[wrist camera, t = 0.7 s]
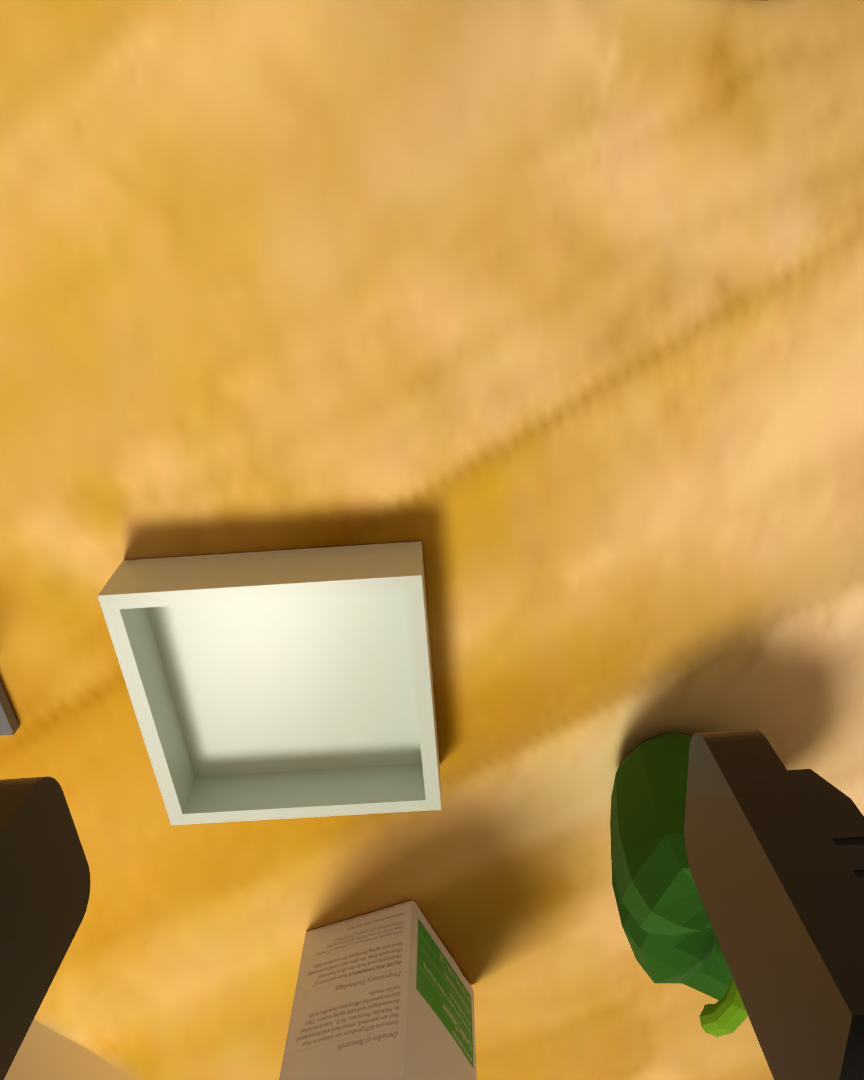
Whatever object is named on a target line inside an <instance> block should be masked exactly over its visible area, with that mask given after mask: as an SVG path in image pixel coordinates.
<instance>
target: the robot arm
mask: <svg viewBox="0 0 864 1080" xmlns="http://www.w3.org/2000/svg"><path fill="white" fill-rule="evenodd" d="M760 1H767V0H760ZM684 834H685V846H686V852H687V858H688V863H689V867H690V871H691V874H692V877H693V880H694V883H695V885H696V888H697V890H698V893H699V895H700V898H701V900H702V903H703V905H704V908H705V910H706V913H707V915H708V917H709V920H710V922H711V925H712V927H713V930H714V932H715V935H716V937H717V940H718V942H719V945H720V947H721V950H722V952H723V954H724V957H725V959H726V962H727V964H728V967H729V969H730V972H731V974H732V977H733V979H734V982H735V984H736V987H737V989H738V992H739V994H740V996H741V999H742V1001H743V1004H744V1006H745V1009H746V1011H747V1014H748V1016H749V1019H750V1021H751V1024H752V1026H753V1029H754V1031H755V1033H756V1036H757V1038H758V1041H759V1043H760V1046H761V1048H762V1051H763V1053H764V1056H765V1058H766V1061H767V1063H768V1066H769V1068H770V1070H771V1073H772V1075H773V1078H774V1080H864V816H863V815H862V814H861V812H860V811H859V809H858V808H857V807H856V805H855V804H854V803H853V801H852V800H851V799H850V798H849V797H848V796H846V795H845V794H844V793H842V792H841V791H839V790H838V789H837V788H835V787H834V786H833V785H831V784H830V783H829V782H827V781H826V780H825V779H823V778H822V777H820V776H819V775H818V774H816V773H815V772H814V771H812V770H811V769H802V770H788V771H787V769H786V768H785V766H784V765H783V763H782V762H781V760H780V759H779V757H778V756H777V754H776V753H775V751H774V750H773V748H772V747H771V745H770V744H769V742H768V741H767V739H766V738H765V736H764V735H763V734H762V733H761V732H760V731H759V730H757V729H746V730H732V731H717V732H703V733H695V734H694V735H693V736H692V738H691V742H690V748H689V763H688V779H687V794H686V809H685V825H684ZM89 893H90V872H89V866H88V863H87V860H86V857H85V854H84V851H83V848H82V845H81V842H80V840H79V837H78V834H77V831H76V828H75V825H74V822H73V819H72V817H71V814H70V811H69V808H68V805H67V802H66V799H65V796H64V794H63V791H62V788H61V786H60V785H59V783H58V782H57V781H56V780H55V779H54V778H52V777H35V778H21V779H7V780H0V1080H4V1078H5V1076H6V1074H7V1072H8V1070H9V1067H10V1066H11V1064H12V1061H13V1059H14V1058H15V1056H16V1054H17V1052H18V1049H19V1047H20V1045H21V1043H22V1041H23V1039H24V1037H25V1035H26V1033H27V1031H28V1029H29V1027H30V1025H31V1023H32V1021H33V1019H34V1017H35V1015H36V1013H37V1011H38V1009H39V1007H40V1005H41V1003H42V1001H43V999H44V997H45V995H46V993H47V991H48V989H49V987H50V985H51V983H52V981H53V979H54V977H55V974H56V972H57V970H58V968H59V966H60V964H61V962H62V960H63V958H64V956H65V954H66V952H67V950H68V948H69V946H70V944H71V942H72V940H73V938H74V936H75V934H76V932H77V930H78V928H79V926H80V924H81V922H82V919H83V917H84V915H85V912H86V908H87V904H88V900H89Z"/></svg>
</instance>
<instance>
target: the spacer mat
mask: <svg viewBox="0 0 864 1080" xmlns="http://www.w3.org/2000/svg"><path fill="white" fill-rule="evenodd" d="M18 728H19V724H18V722H17V719H16V717H15V714H14V712H13V710H12V707H11V705H10V702H9V700H8V698H7V695H6V693H5V690H4V688H3V686H2V683H1V681H0V735H14V734H15V732H16V731H17V729H18Z"/></svg>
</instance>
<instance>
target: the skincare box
mask: <svg viewBox="0 0 864 1080" xmlns="http://www.w3.org/2000/svg"><path fill="white" fill-rule="evenodd" d="M279 1080H477V1079H476V1053H475V1024H474V993H473V989H472V987H471V985H470V984H469V982H468V981H467V980H466V978H465V977H464V976H463V974H462V973H461V971H460V969H459V967H458V966H457V964H456V962H455V961H454V960H453V958H452V957H451V955H450V954H449V952H448V951H447V949H446V948H445V946H444V945H443V944H442V942H441V941H440V939H439V938H438V936H437V935H436V933H435V932H434V930H433V929H432V927H431V926H430V924H429V923H428V921H427V920H426V918H425V917H424V915H423V913H422V912H421V910H420V909H419V907H418V905H417V904H416V903H415V902H414V901H413V900H411V901H407V902H404V903H401V904H397V905H394V906H391V907H387V908H384V909H381V910H378V911H374V912H371V913H368V914H364V915H361V916H357V917H354V918H351V919H347V920H344V921H341V922H337V923H334V924H330V925H327V926H324V927H320V928H317V929H314V930H310V931H308V932H306V934H305V940H304V946H303V951H302V957H301V962H300V967H299V973H298V979H297V985H296V990H295V995H294V1001H293V1006H292V1012H291V1018H290V1023H289V1029H288V1034H287V1040H286V1045H285V1051H284V1056H283V1061H282V1067H281V1072H280V1078H279Z"/></svg>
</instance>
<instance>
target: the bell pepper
mask: <svg viewBox="0 0 864 1080" xmlns="http://www.w3.org/2000/svg"><path fill="white" fill-rule="evenodd" d="M691 738H692V736H691V735H686V734H681V733H676V732H672V731H670V732H668V733H665V734H662V735H660V736H657V737H654V738H652V739H649V740H646V741H644V742H642V743H641V744H640V745H639V746H638V747H636V748H635V749H634V750H633V751H632V752H631V753H630V754H629V755H628V756H627V757H626V758H624V759H623V760H622V761H621V763H620V765H619V768H618V770H617V772H616V776H615V781H614V787H613V792H612V798H611V820H610V826H611V860H612V885H613V889H614V893H615V897H616V902H617V906H618V910H619V915H620V919H621V923H622V927H623V929H624V931H625V934H626V936H627V938H628V941H629V943H630V945H631V948H632V950H633V952H634V955H635V957H636V959H637V961H638V962H639V964H640V965H641V966H642V968H643V969H644V970H645V971H646V973H647V974H648V975H649V977H650V978H651V979H652V981H653V982H654V983H683V984H685V985H687V986H689V987H692V988H694V989H696V990H698V991H700V992H702V993H705V994H707V995H709V996H711V997H713V998H715V999H718V1000H719V1001H718V1002H717V1003H716V1004H708V1005H705V1006H704V1009H703V1011H702V1012H701V1015H700V1021H701V1026H702V1027H703V1029H704V1030H705V1032H706V1033H708V1034H712V1035H713V1036H716V1037H719V1036H722V1035H726V1034H729V1033H733V1032H734V1031H735V1030H736V1028H737V1027H738V1026H739V1025H740V1024H741V1023H742V1022H743V1021H744V1020H745V1019H746V1018H747V1017H748V1014H747V1011H746V1009H745V1006H744V1004H743V1001H742V999H741V996H740V994H739V992H738V989H737V987H736V984H735V982H734V979H733V977H732V974H731V972H730V969H729V967H728V964H727V962H726V959H725V957H724V954H723V952H722V950H721V947H720V945H719V942H718V940H717V937H716V935H715V932H714V930H713V927H712V925H711V922H710V920H709V917H708V915H707V913H706V910H705V908H704V905H703V903H702V900H701V898H700V895H699V893H698V890H697V888H696V885H695V883H694V880H693V877H692V874H691V871H690V867H689V863H688V858H687V852H686V846H685V834H684V825H685V809H686V794H687V779H688V763H689V748H690V742H691Z"/></svg>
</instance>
